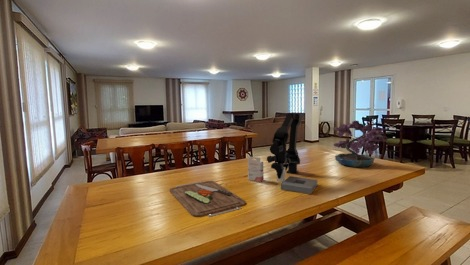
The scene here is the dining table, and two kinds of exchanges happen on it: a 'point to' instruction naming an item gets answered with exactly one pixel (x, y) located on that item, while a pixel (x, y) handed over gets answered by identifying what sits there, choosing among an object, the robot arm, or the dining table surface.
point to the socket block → (299, 184)
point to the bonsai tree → (358, 144)
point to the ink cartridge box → (255, 169)
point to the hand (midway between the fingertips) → (281, 177)
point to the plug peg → (282, 175)
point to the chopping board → (206, 198)
